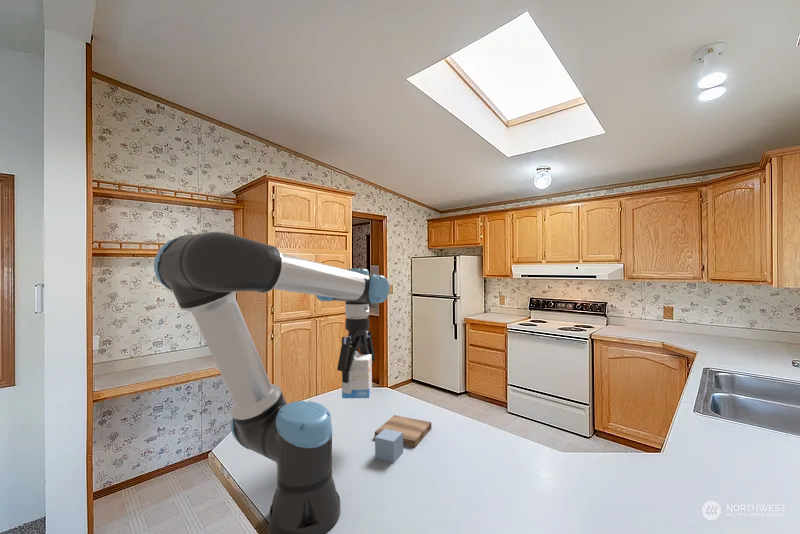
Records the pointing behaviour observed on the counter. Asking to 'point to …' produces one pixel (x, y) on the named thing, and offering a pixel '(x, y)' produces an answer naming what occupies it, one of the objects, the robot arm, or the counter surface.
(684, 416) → the counter surface
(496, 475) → the counter surface
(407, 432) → the board
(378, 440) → the cube
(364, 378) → the ink box
